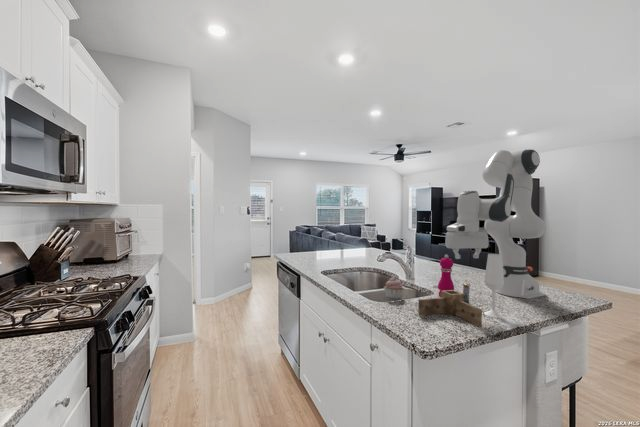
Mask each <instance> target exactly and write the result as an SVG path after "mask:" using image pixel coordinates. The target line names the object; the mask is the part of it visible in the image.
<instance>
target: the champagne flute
mask: <svg viewBox="0 0 640 427" xmlns="http://www.w3.org/2000/svg"><path fill="white" fill-rule="evenodd" d="M485 266H486V268H485V274H484V283H485V285H486V286H487V287H488V289H490V290H491V293H492V294H491V309H490V310H487V311H485V312H483V314H484V315H485V316H487V317H491V318H497V319H500V318H501V319H502V318H504V315H503V314H502V313H500V312H499V311H497V310H496V303H497V302H496V297H497V295H496V294H497V292H496V290H498V289H500V288H501V287H502V286H503V285H504V274H503V262H502V255H500V254H499V253H488V254H487V260H486V265H485Z"/></svg>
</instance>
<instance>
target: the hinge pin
mask: <svg viewBox="0 0 640 427" xmlns="http://www.w3.org/2000/svg"><path fill="white" fill-rule="evenodd" d="M462 285H463V288H462V289H463V291H462V292H463V293H462V294H464V298H463V302H465V303H468V304H470V287H471V284H470V283H462Z"/></svg>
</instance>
